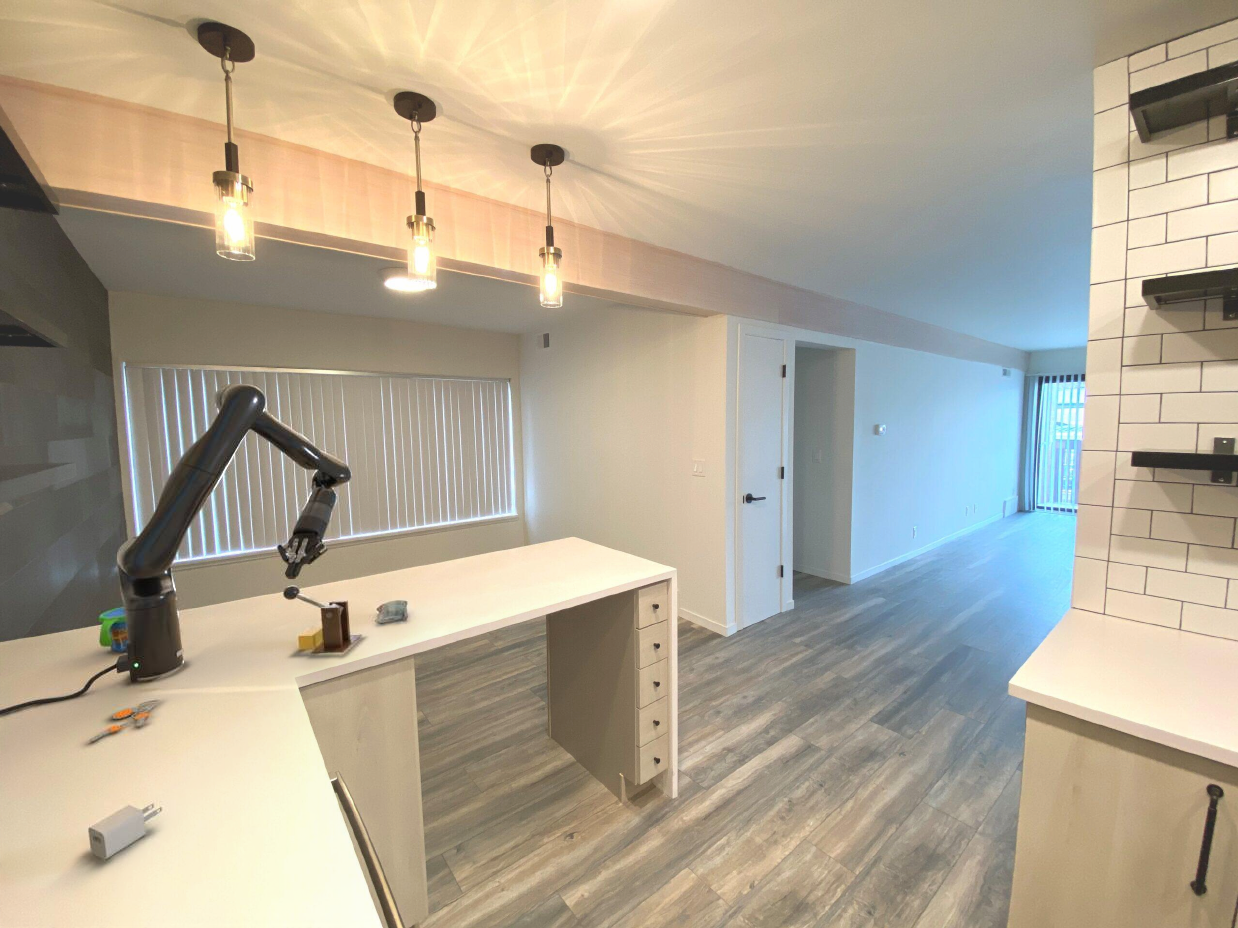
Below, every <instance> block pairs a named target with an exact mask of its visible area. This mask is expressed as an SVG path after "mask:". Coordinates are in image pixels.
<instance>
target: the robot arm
mask: <svg viewBox="0 0 1238 928" xmlns="http://www.w3.org/2000/svg"><path fill="white" fill-rule="evenodd" d="M213 402H214V405H215V407H216V409H217V410H218V412H217V414H216V416H215V418H214V420H213V422H212V423H211V424H210V426H209V428H208V429H207V430H206V431H205V432H204V433H203V434H202V435H201V436H200V437H199V438H198V439H197V440H196V441H194V442H193V443H192V444H191V446H189V447H188V449H186V451H184V453H183V454H182V455H181V457H180V458H179V460H177V462H176V464H175V465H174V467H173V469H172V470H171V472H170V473H169V475H168V477H167V478H166V481H165V482H164V485H163V487H162V490H161V492H160V495H159V498H158V502H157V505H156V507H155V509H154V511H153V514H152V516H151V518H150V519H149V521H148V522H147V524H146V525H145V526H144V527H143V529H142V530H141V532H140V533H139V534H138V536H134V537H131V538H130V539H128V540H126V541H124V543H122V545H121V546H120V547H119V549H118V551H117V554H116V565H117V571H118V573H117V574H118V580H119V581H118V582H119V588H120V589H119V590H120V594H121V598H122V604H123V607H124V613H125V621H126V630H127V638H128V641H127V644H126V646H127V651H126V653H127V654H121V655H118V658H117V660H116V663H115V664H112V665H111V666H109V667H107V668H104V669H102V670H101V671H99V672H98V673H96V674H95V675H94V676H92V677H91V678H90V679H89V680H88V681H87V682H86V684H85V685H84V687H83V688H82V689H81V690H78V691H77V692H74V693H71V694H69V695H65V696H57V697H49V698H40V699H35V700H34V699H33V700H30V701H26V702H22V703H19V704H16V705H13V706H9V707H6V708H5V707H4V708H3V709H0V716H1V715H4V714H7V713H11V712H14V711H17V710H20V709H23V708H27V707H31V706H36V705H41V704H49V703H57V702H62V701H66V700H67V701H68V700H71V699H75V698H77V697H78V698H79V697H80V696H81V695H84V694H85V693H86V692H88V690H89V689H90V688H91V686H92V685H93V683H94V682H95V681H97V680H98V679H99V678H100V677H103V676H104V675H105V674H107V673H109V672H112V671H113V670H116V674H121V673H126V672H128V673H129V681H130V684H133V683H138V682H141V683H142V682H150V681H154V680H157V679H159V678H161V677H162V676H164V675H166V674H168V673H171V672H173V671H175V670H178V668H180V667H182V666H183V665H184V663H185V661H184V656H183V653H185V649H184V647H183V646H182V645H183V644H182V635H181V627H180V617H179V609H178V607H179V606H178V598H177V589H176V586H175V581H174V577H173V572H172V564H173V563H174V561H175V559H176V556H177V554H178V552H179V549H180V546H181V545H182V542H183V541H184V539H185V536H186V534H187V532H188V530H189V528H190V526H191V525H192V523H193V522H194V520H195V519H196V517H197V516H198V515H199V514H200V512H201V511H202V509H203V507H204V506H205V505H206V504H207V501H208V500H209V498H210V496H211V495H212V494H213V493H214V491H215V489H216V488H217V486H218V484H219V482H220V480H221V479H222V478H223V475H224V473H225V471H226V469H227V468H228V466H229V465H230V463H231V462H232V460H233V458H234V456H235V454H236V452H237V450H238V448H239V447H240V445H241V443H242V441H243V440H244V438H245V437H246V435H247V434H248V433H249V431H250V430H251V431H252V432H254V433H255V434H257V435H258V436H259V437H261V438H263V439H264V440H266V441H267V442H268V443H269V444H271V445H272V446H273V447H275V448H276V449H277V450H278V451H280V452H281V453H282V454H283V455H285V456H286V457H287V458H288V459H289V460H291V461H292V462H294V463H295V464H297V465H298V466H300V468H301V469H303V470H305V471H315V472H314V473H313V475H312V477H311V482H310V494H309V496H308V498H307V500H306V503H305V505H304V507H303V508H302V509H301V512H300V514H299V516H298V519H297V521H296V523H295V526H294V527H293V530H292V535H291V537H290V538H289V539H288V541H287V543H285V544H278V545H277V546H276V548H277V551H278V553H279V555H280V557H281V559H282V561H283V562H284V563H285V564H286V565H287V567H286V570H285V572H284V575H285V577H286V578H287V579H288V580H296V578H298V576H299V575H300V572H301V571H302V568H303V567H304V566H306V565H309V566H310V565H311V564H312V563H314V562H315V561H316V560H317V559H319V558H320V557H322V556H323V555H324V554H325V553H326V552H328V550H329V549H328V547H327V546H326V545H325V544H324V543H323V540H324V537H325V535H326V532H327V530H328V526H329V524H330V521H331V519H332V515H333V511H334V508H335V507H336V504H337V500H338V494H337V492H336V491H335V490H334V488H337V487H340V486H343V485H346V484H348V483H349V482H351V480H352V475H353V474H352V470H351V468H350V466H349V465H348V464H347V463H346V462H344V461H343V460H341V459H339V458H337V457H335V456H334V455H332V454H329V453H327V452H325V451H323V450H321V449H320V448H319V447H317V445H316V444H314V443H313V442H312V441H311V440H309V439H308V438H307V437H305V436H304V435H303V434H301V433H300V432H298V431H297V430H295V429H293V428H291V427H290V426H288V425H286V424H285V423H284V422H282V421H280V420H279V419H278V418H276V417H275V416H273V415H272V414H271V413H270V412H269V411H267V410H266V409H265V408H266V405H267V399H266V395H265V394H264V392H263V391H262V390H261V389H260V388H259V387H257V386H255V385H253V384H249V383H230V384H225V385H223V386H221V387H219V388H218V389H217V390H216V392H215V393H214V397H213Z"/></svg>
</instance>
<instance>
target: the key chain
mask: <svg viewBox="0 0 1238 928" xmlns="http://www.w3.org/2000/svg"><path fill="white" fill-rule="evenodd" d="M160 701H161V700H160V699H153V700H148V701H147V700H146V701H144V702H141V703H140V704H138V706H137V707H136V709H134V708H128V709H124V710H120V711H118V712H116V713H115V714H113V715H112V719H113V720H120V719H124V718H127V717H129V716H130V718H131V719H132V720H130V721H127V722H125V723H122V724H120V725H113V726H110V727H108V728H106V729H105V730H104V731H103V732H102V733H99V734H97V735H95V736H94V737H92V738H89V740H88V741H89V742H94V741H95V740H97V739H99V738H101V737H103V736H105V735H107V734H109V733H114V732H116V731H119V730H120V729H121V727H124V726H127V725H129V724H131V723H133V722H135V721H137V722H136V725H135V727H137V728H138V727H141V726H142V725H144V722H145V719H146V718H148V717H149V713H148V711H149V710H151V708H154V707H155V706H156V705H157V704H158V703H159V702H160ZM149 703H153V704H152V705H150V706H149V707H145V708H142V709H139V708H140V707H141V706H142V705H145V704H149ZM138 709H139V710H138Z"/></svg>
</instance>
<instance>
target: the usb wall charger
mask: <svg viewBox="0 0 1238 928" xmlns="http://www.w3.org/2000/svg"><path fill="white" fill-rule="evenodd" d="M150 807H151V808H150ZM154 808H155V804H154V803H151V804H149V805H147V806H145V807H144V808H142V809H140V808H138V807H136V806H133V805H131V804H128V805H126V806H124V807H122V808H120V809H119V810H117V811H115V812H114V813H112V814H110V815H108V816H106V817H105V818H103V819H101V820H100V821H98V822H96V823H95V824H92V825H91V826H90V827H88V828H87V830H88V831H87V832H88V840H89V846H90V852H91V853H92V854H93V855H95V856H97V857H99V858H101V859H103V860H107V859H109V858H110V857H112V856H114V855H116V854H117V853H118V852H120V851H122V850H123V849H125V848H127V847H128V846H130V845H131V844H133V843H134V842H136V841H137V840H139V839H141V838H142V837H143V836H145V835H146V824H145V823H146V822H148V821H149V820H150V819H152V818H154V817H156V816H157V815H159V814H160V813H161V812H162V811H163V807H162V806H160V807H158V808H157V809H155V810H153V811H151V810H152V809H154ZM150 811H151V812H150ZM148 812H149V813H148ZM146 813H148V814H146ZM144 814H146V815H145V816H144Z"/></svg>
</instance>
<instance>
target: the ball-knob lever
mask: <svg viewBox="0 0 1238 928" xmlns="http://www.w3.org/2000/svg"><path fill="white" fill-rule="evenodd" d="M300 591H301V590H300V588H299V587H298V586H296V585H289V586H287V587H285V588H284V590H283V592H282V595H283V598H285V599H286V600H289V601H293V600H296V599H298V600H300V601H303V602H305V603H307V604H310V605H312V606H314V607H317V608H320V609H321V608H322V607H333V606H339V605H337V604H332V605H331V606H329V604H328V603H324V602H322V601H320V600H317V599H316V598H313V597H310V596H308V595H306V594H303V593H301V592H300ZM343 608H344V607H341V606H340V615H341V613H342V610H343Z"/></svg>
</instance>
